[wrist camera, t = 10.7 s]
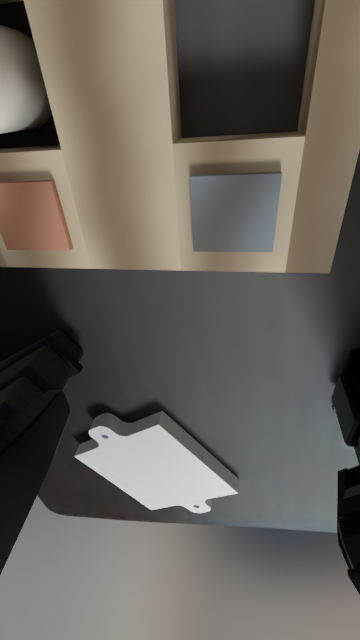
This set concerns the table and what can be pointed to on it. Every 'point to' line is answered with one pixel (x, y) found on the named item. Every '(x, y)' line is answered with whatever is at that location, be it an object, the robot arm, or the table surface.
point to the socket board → (175, 153)
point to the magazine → (37, 372)
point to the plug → (21, 84)
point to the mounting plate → (156, 462)
